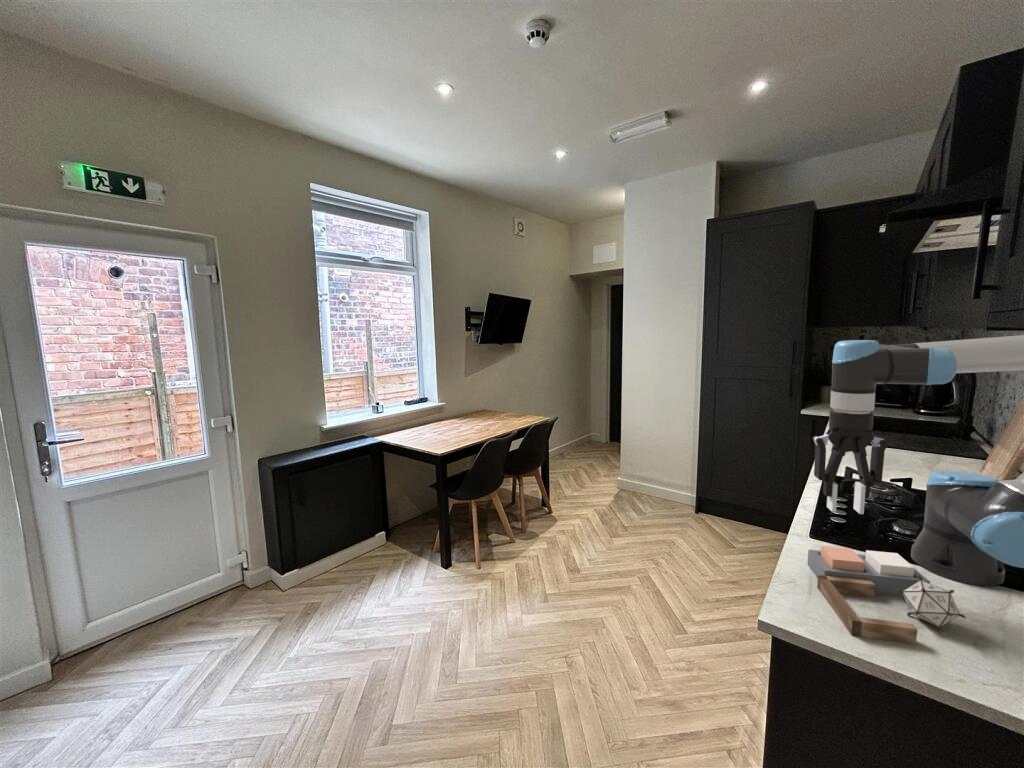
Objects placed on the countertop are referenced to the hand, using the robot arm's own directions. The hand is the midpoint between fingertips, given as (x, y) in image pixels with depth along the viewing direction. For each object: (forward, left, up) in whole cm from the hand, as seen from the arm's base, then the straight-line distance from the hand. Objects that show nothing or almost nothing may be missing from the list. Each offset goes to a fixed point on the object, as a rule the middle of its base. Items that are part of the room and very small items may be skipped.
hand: (844, 510), depth 93 cm
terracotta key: (0, 0, -14) cm, 14 cm away
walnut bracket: (+2, +12, -17) cm, 21 cm away
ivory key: (-9, 0, -14) cm, 16 cm away
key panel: (-4, 0, -17) cm, 17 cm away
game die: (-9, +12, -17) cm, 23 cm away
